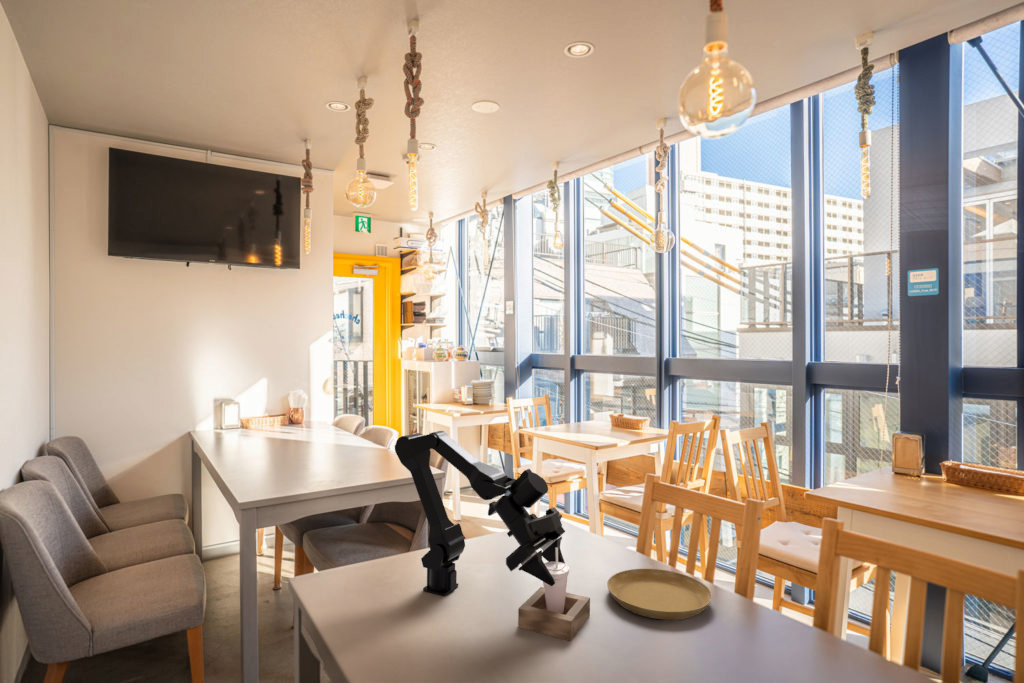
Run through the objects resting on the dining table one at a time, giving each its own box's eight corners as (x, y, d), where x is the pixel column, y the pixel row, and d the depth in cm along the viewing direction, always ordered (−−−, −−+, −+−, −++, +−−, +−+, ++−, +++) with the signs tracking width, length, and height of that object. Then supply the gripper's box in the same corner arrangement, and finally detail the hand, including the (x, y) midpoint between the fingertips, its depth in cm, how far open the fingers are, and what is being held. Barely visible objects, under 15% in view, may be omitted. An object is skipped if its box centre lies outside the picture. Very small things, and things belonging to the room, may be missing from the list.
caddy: (518, 627, 121) (518, 608, 121) (540, 604, 132) (540, 586, 132) (571, 640, 116) (571, 621, 116) (589, 615, 126) (590, 597, 126)
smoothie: (574, 615, 122) (573, 552, 121) (546, 620, 120) (544, 556, 120) (564, 600, 128) (563, 540, 127) (537, 605, 127) (535, 544, 126)
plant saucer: (615, 574, 150) (615, 561, 150) (712, 588, 142) (712, 575, 142) (598, 615, 127) (598, 600, 127) (711, 635, 119) (712, 619, 119)
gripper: (519, 509, 118) (566, 574, 112) (558, 489, 134) (601, 545, 128) (486, 539, 122) (530, 603, 116) (528, 516, 138) (568, 572, 132)
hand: (560, 579), depth 123 cm, fingers closed on smoothie, 6 cm apart
